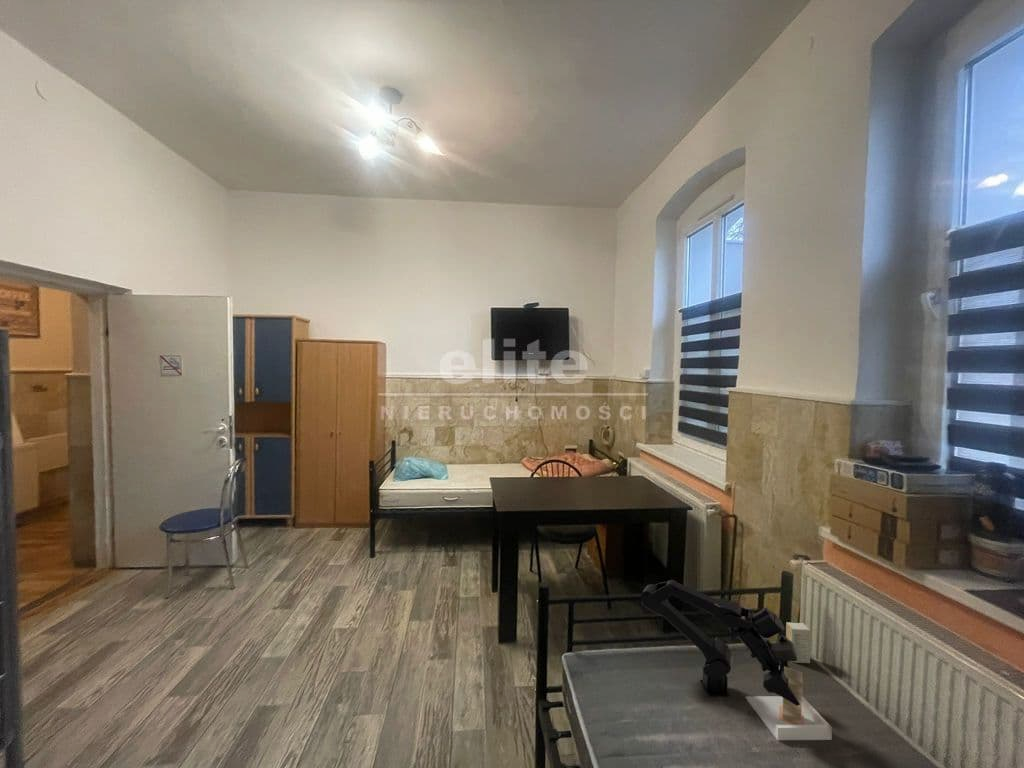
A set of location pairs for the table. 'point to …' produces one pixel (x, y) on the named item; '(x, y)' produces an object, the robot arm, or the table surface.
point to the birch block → (796, 685)
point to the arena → (784, 729)
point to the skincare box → (799, 640)
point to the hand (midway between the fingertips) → (798, 694)
